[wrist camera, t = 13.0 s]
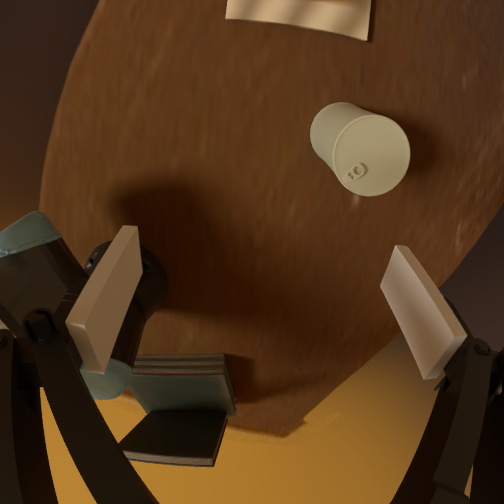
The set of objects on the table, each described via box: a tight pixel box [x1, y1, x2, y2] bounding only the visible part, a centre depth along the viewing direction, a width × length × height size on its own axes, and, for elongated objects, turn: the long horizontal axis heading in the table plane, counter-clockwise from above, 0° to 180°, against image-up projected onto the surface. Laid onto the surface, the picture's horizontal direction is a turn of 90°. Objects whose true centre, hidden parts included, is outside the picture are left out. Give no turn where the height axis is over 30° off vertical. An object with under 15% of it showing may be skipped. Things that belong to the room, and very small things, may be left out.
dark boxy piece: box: [118, 353, 236, 467], centre depth 58 cm, size 23×20×25 cm
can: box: [310, 102, 410, 196], centre depth 34 cm, size 9×9×12 cm
